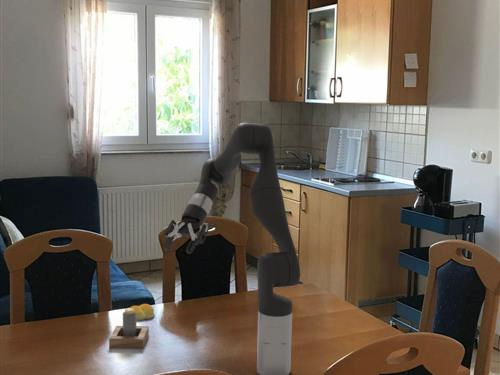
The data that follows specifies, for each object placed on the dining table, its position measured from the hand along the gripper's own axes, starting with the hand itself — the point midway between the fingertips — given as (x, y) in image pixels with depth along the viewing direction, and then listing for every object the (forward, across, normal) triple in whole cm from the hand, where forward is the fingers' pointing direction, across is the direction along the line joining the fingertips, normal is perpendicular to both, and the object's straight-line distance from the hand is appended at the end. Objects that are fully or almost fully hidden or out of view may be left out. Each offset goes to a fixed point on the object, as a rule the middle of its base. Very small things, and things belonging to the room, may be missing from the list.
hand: (177, 250), depth 188 cm
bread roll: (+17, -16, +20) cm, 31 cm away
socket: (+30, -5, +6) cm, 31 cm away
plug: (+30, -5, +6) cm, 31 cm away
